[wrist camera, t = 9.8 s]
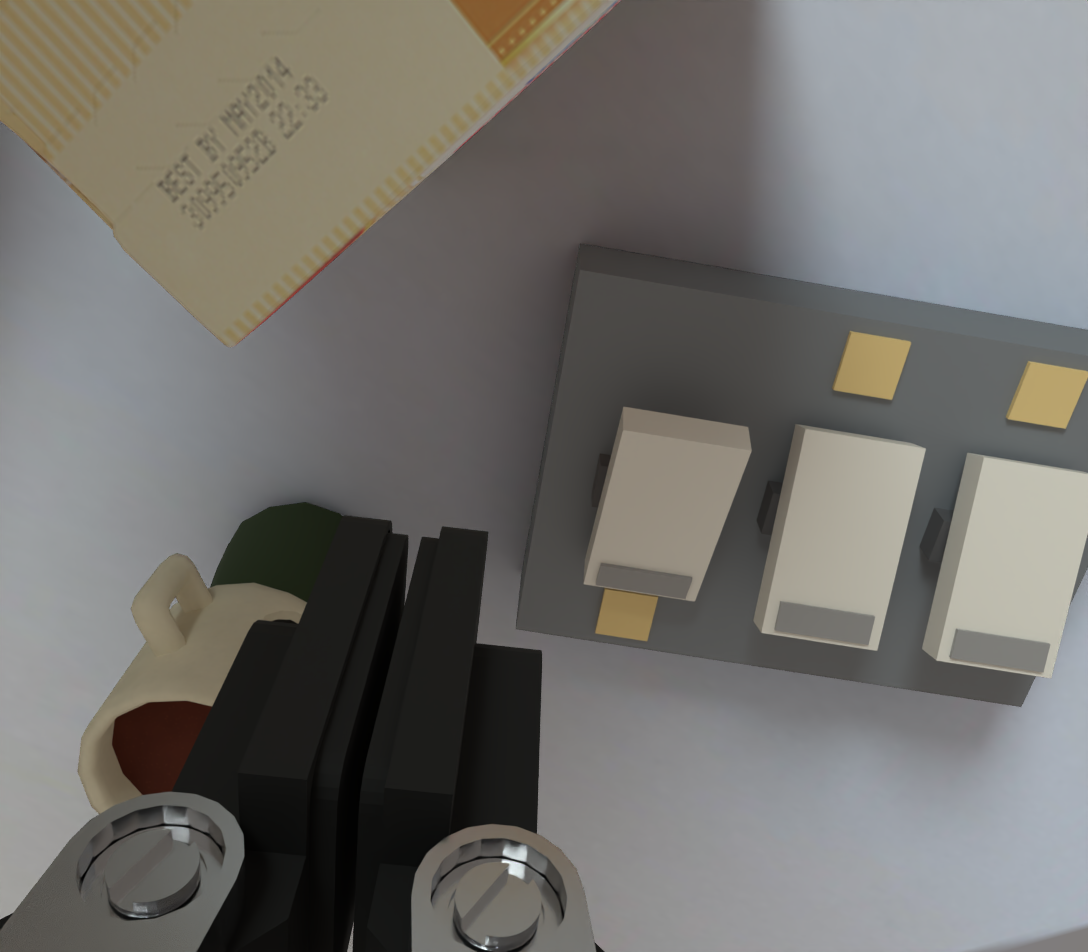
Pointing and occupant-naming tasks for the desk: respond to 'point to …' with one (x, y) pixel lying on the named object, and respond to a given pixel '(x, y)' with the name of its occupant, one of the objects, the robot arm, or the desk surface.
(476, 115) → the coffeecake box
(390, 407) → the desk surface
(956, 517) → the rocker
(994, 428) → the console
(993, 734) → the desk surface
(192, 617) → the character mug
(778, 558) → the block
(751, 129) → the desk surface
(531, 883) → the robot arm
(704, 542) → the rocker
